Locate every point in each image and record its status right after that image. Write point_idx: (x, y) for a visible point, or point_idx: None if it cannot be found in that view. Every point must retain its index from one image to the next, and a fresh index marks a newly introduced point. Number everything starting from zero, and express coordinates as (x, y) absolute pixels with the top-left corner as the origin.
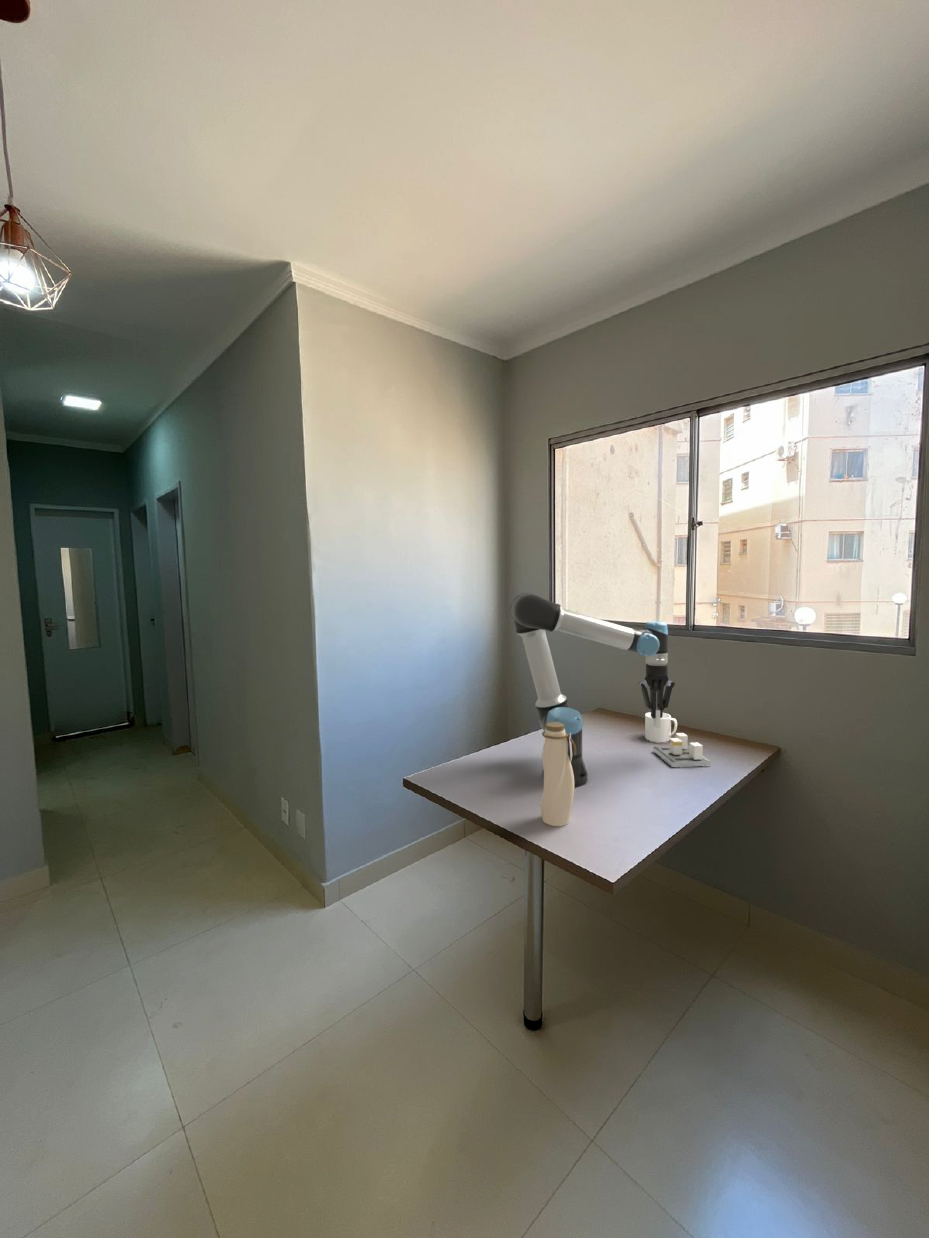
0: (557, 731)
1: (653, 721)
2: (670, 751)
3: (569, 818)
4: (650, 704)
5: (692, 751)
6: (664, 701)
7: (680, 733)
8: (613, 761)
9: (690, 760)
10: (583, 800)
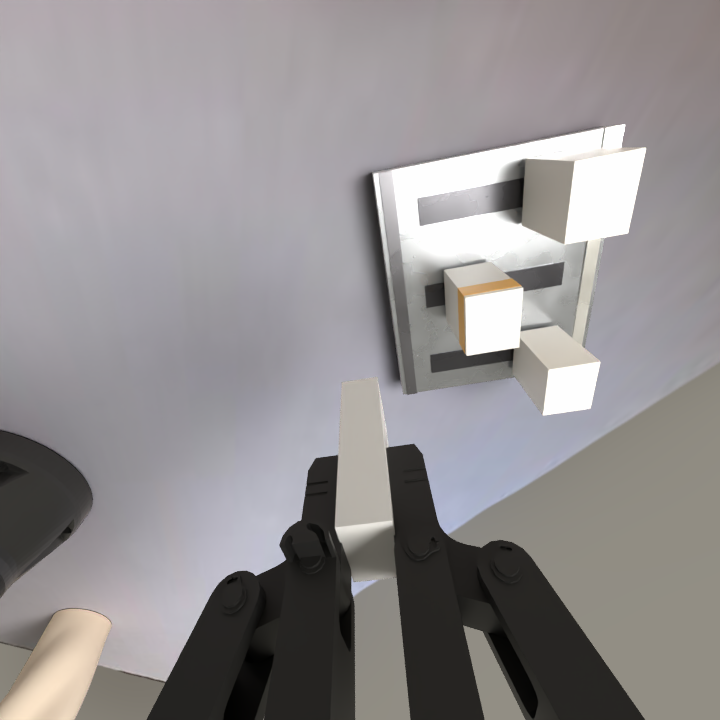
0: None
1: (342, 414)
2: (444, 282)
3: (108, 629)
4: (267, 688)
5: (527, 375)
6: (542, 646)
7: (612, 166)
8: (152, 330)
9: (494, 368)
10: (115, 570)
